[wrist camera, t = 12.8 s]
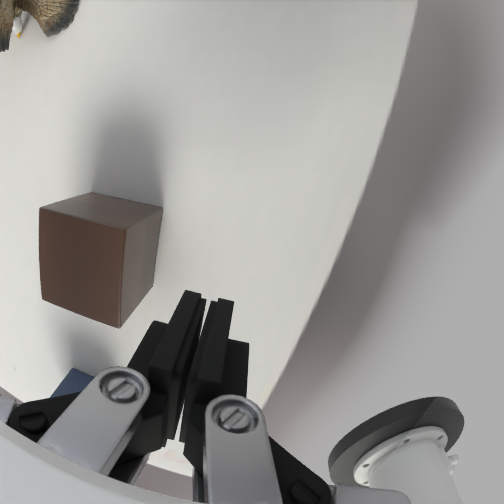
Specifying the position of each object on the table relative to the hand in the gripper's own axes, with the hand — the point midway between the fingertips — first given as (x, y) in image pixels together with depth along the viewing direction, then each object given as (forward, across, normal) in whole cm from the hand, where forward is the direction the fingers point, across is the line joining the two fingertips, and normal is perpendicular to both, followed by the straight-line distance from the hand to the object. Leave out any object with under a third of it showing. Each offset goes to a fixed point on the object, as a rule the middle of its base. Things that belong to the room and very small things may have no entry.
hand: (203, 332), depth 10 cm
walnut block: (+7, +6, 0) cm, 10 cm away
